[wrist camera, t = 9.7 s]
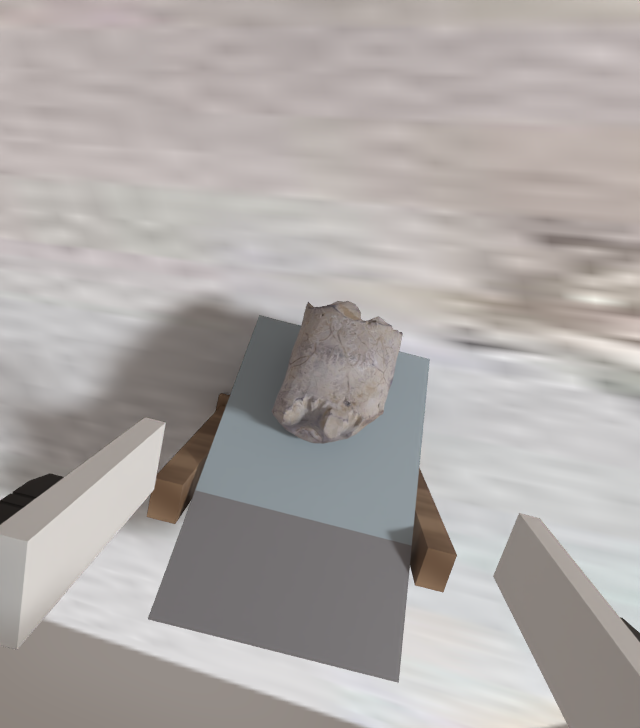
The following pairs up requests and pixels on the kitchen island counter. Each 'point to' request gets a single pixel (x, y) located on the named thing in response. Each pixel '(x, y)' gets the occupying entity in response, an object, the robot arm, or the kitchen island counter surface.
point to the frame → (185, 468)
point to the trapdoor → (301, 524)
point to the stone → (337, 374)
